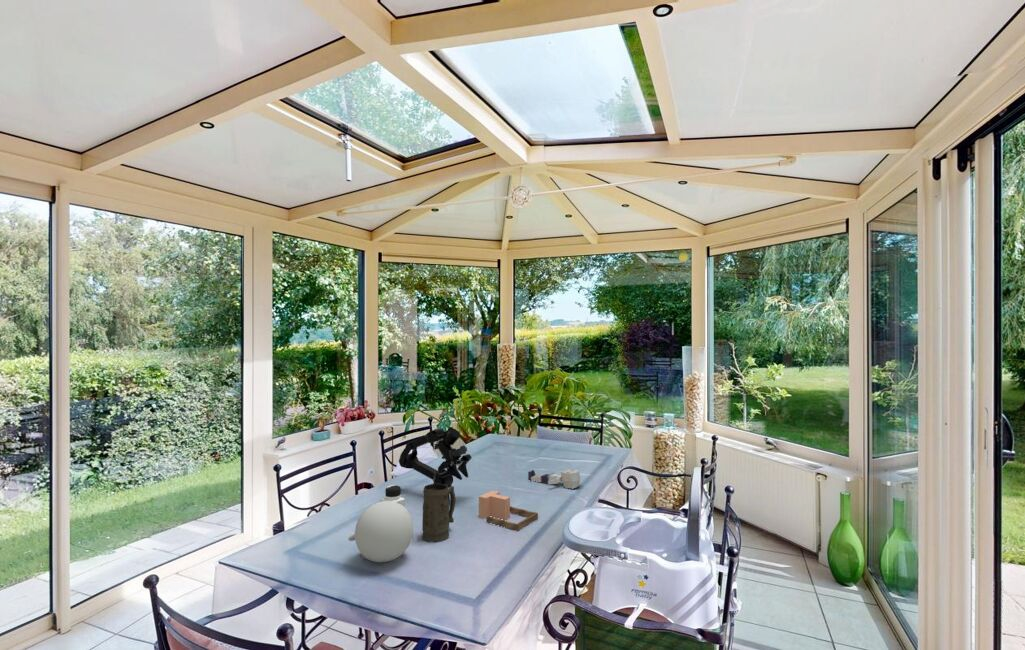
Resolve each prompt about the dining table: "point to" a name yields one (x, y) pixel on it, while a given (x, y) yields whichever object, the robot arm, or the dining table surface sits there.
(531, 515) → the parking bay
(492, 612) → the dining table surface
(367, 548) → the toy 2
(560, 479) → the toy
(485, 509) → the t block
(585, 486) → the dining table surface
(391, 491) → the container
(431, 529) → the beer stein
